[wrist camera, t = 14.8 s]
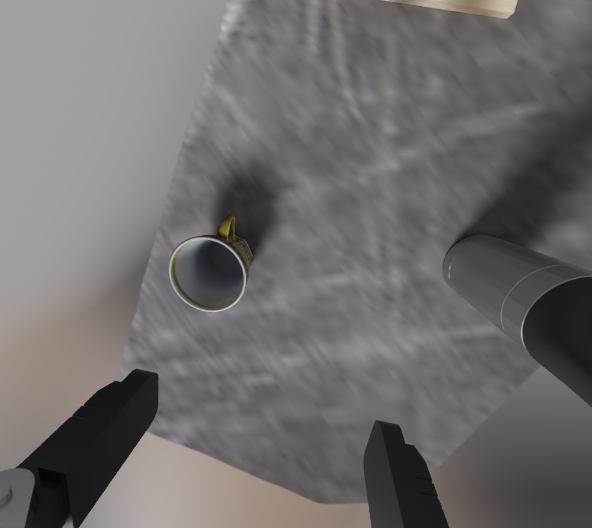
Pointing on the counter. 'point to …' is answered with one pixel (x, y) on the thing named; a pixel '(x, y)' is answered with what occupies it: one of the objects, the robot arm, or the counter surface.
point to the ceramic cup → (211, 269)
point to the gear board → (469, 6)
